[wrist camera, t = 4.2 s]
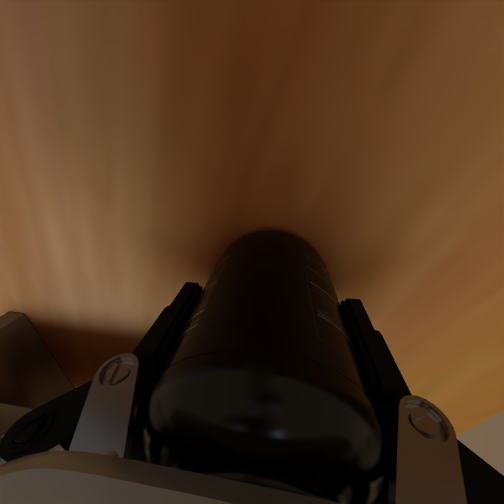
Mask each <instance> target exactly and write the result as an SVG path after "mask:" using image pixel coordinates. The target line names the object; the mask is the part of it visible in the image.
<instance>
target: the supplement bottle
mask: <svg viewBox="0 0 504 504" xmlns="http://www.w3.org/2000/svg"><path fill="white" fill-rule="evenodd" d="M142 439H143V446H144V451H145V454H146V457H147V460H148V462H149V463H151V464H156V465H160V466H165V467H170V468H175V469H180V470H185V471H190V472H195V473H200V474H205V475H209V476H214V477H219V478H224V479H229V480H233V481H238V482H243V483H248V484H253V485H257V486H262V487H267V488H272V489H276V490H281V491H286V492H291V493H295V494H300V495H305V496H309V497H314V498H319V499H323V500H328V501H333V502H337V503H342V504H372V503H373V502H374V501H375V499H376V498H377V496H378V494H379V492H380V490H381V487H382V485H383V482H384V478H385V472H386V465H387V445H386V437H385V434H384V431H383V427H382V424H381V421H380V418H379V414H378V411H377V408H376V405H375V402H374V400H373V397H372V394H371V391H370V388H369V386H368V383H367V380H366V377H365V374H364V371H363V369H362V366H361V363H360V360H359V357H358V355H357V352H356V349H355V346H354V343H353V340H352V338H351V335H350V332H349V329H348V326H347V324H346V321H345V318H344V315H343V312H342V310H341V307H340V304H339V301H338V298H337V295H336V293H335V290H334V287H333V284H332V281H331V279H330V276H329V273H328V271H327V268H326V266H325V264H324V261H323V260H322V258H321V256H320V255H319V253H318V252H317V251H316V250H315V249H314V248H313V247H312V246H311V245H310V244H308V243H307V242H306V241H304V240H302V239H301V238H299V237H297V236H294V235H292V234H289V233H285V232H280V231H260V232H255V233H251V234H248V235H246V236H243V237H241V238H239V239H238V240H236V241H235V242H233V243H232V244H231V245H230V246H229V247H228V248H227V249H226V250H225V251H224V253H223V254H222V256H221V257H220V259H219V261H218V263H217V264H216V266H215V268H214V270H213V272H212V274H211V276H210V278H209V279H208V281H207V283H206V285H205V287H204V289H203V291H202V293H201V295H200V297H199V299H198V300H197V302H196V304H195V306H194V308H193V310H192V312H191V314H190V316H189V318H188V320H187V322H186V323H185V325H184V327H183V329H182V331H181V333H180V335H179V337H178V339H177V341H176V343H175V344H174V346H173V348H172V350H171V352H170V354H169V356H168V358H167V360H166V362H165V364H164V365H163V367H162V369H161V371H160V373H159V375H158V377H157V379H156V381H155V383H154V385H153V388H152V390H151V392H150V394H149V396H148V399H147V401H146V404H145V408H144V413H143V421H142Z"/></svg>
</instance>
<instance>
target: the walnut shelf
mask: <svg viewBox="0 0 504 504" xmlns="http://www.w3.org/2000/svg"><path fill="white" fill-rule="evenodd" d="M73 389H74V387H73V386H72V384H71V383H70V381H69V380H68V378H67V377H66V375H65V374H64V372H63V371H62V369H61V368H60V366H59V365H58V363H57V362H56V360H55V359H54V357H53V356H52V355H51V353H50V352H49V350H48V349H47V347H46V346H45V344H44V343H43V341H42V340H41V338H40V337H39V335H38V334H37V332H36V331H35V329H34V328H33V326H32V325H31V323H30V322H29V320H28V319H27V317H26V316H25V314H23V313H16V312H7V313H6V314H4V315H3V316H1V317H0V436H3V435H5V433H6V432H7V430H8V429H9V428H10V427H11V426H12V425H13V424H14V423H15V422H16V421H17V420H18V419H20V418H21V417H22V416H23V415H25V414H26V413H28V412H30V411H31V410H33V409H35V408H37V407H39V406H41V405H43V404H45V403H47V402H49V401H51V400H53V399H55V398H57V397H59V396H61V395H63V394H65V393H67V392H69V391H71V390H73Z"/></svg>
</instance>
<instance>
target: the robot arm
mask: <svg viewBox="0 0 504 504" xmlns="http://www.w3.org/2000/svg"><path fill="white" fill-rule="evenodd" d="M201 293H202V286H199V284H198V283H192V282H186V283H185V285H184V286H183V288H182V289H181V290H180V292H179V293H178V295H177V296H176V298H175V299H174V300H173V302H172V303H171V305H170V306H167V307H166V308H165V309H164V310H163V311H162V313H161V314H160V315H159V317H158V318H157V320H156V321H155V322H154V324H153V325H152V327H151V328H150V329H149V331H148V332H147V333H146V335H145V336H144V338H143V339H142V340H141V342H140V343H139V345H138V346H137V347H136V349H135V350H134V352H133V353H132V354H130V353H124V354H119V355H116V356H114V357H112V358H110V359H109V360H107V361H106V362H105V363H103V364H102V365H101V367H100V368H99V369H98V370H97V372H96V374H95V376H94V378H93V380H91V381H89V382H87V383H85V384H83V385H81V386H79V387H77V388H75V389H73V390H71V391H69V392H67V393H65V394H63V395H61V396H59V397H57V398H55V399H53V400H51V401H49V402H47V403H45V404H43V405H41V406H39V407H37V408H35V409H33V410H31V411H30V412H28V413H26V414H25V415H23V416H22V417H21V418H20V419H18V420H17V421H16V422H15V423H14V424H13V425H12V426H11V427H10V428H9V429H8V430H7V432H6V433H5V435H3V436H0V504H342V503H337V502H333V501H328V500H323V499H319V498H314V497H309V496H305V495H300V494H295V493H291V492H286V491H281V490H276V489H272V488H267V487H262V486H257V485H253V484H248V483H243V482H238V481H233V480H229V479H224V478H219V477H214V476H209V475H205V474H200V473H195V472H190V471H185V470H180V469H175V468H170V467H165V466H160V465H156V464H151V463H149V462H148V460H147V457H146V454H145V451H144V446H143V439H142V421H143V413H144V408H145V404H146V401H147V399H148V396H149V394H150V392H151V390H152V388H153V385H154V383H155V381H156V379H157V377H158V375H159V373H160V371H161V369H162V367H163V365H164V364H165V362H166V360H167V358H168V356H169V354H170V352H171V350H172V348H173V346H174V344H175V343H176V341H177V339H178V337H179V335H180V333H181V331H182V329H183V327H184V325H185V323H186V322H187V320H188V318H189V316H190V314H191V312H192V310H193V308H194V306H195V304H196V302H197V300H198V299H199V297H200V295H201ZM340 307H341V310H342V312H343V315H344V318H345V321H346V324H347V326H348V329H349V332H350V335H351V338H352V340H353V343H354V346H355V349H356V352H357V355H358V357H359V360H360V363H361V366H362V369H363V371H364V374H365V377H366V380H367V383H368V386H369V388H370V391H371V394H372V397H373V400H374V402H375V405H376V408H377V411H378V414H379V418H380V421H381V424H382V427H383V431H384V434H385V437H386V445H387V465H386V472H385V478H384V482H383V485H382V487H381V490H380V492H379V494H378V496H377V498H376V499H375V501H374V502H373V503H372V504H504V476H503V475H502V474H500V473H499V472H498V471H497V470H495V469H494V468H493V467H492V466H490V465H489V464H488V463H486V462H485V461H484V460H483V459H481V458H480V457H479V456H478V455H476V454H475V453H474V452H472V451H471V450H470V449H469V448H467V447H466V446H465V445H464V444H462V443H461V442H460V441H458V440H457V438H456V434H455V431H454V428H453V426H452V424H451V423H450V421H449V419H448V418H447V417H446V416H445V415H444V413H443V412H442V411H441V410H440V409H439V408H437V407H436V406H435V405H434V404H432V403H431V402H429V401H428V400H426V399H424V398H421V397H419V396H415V395H411V393H410V391H409V389H408V387H407V385H406V383H405V381H404V379H403V377H402V375H401V373H400V371H399V369H398V367H397V365H396V363H395V361H394V359H393V357H392V355H391V353H390V350H389V348H388V346H387V344H386V342H385V340H384V338H383V336H382V335H381V333H380V332H379V331H377V330H374V328H373V326H372V323H371V321H370V319H369V317H368V315H367V313H366V311H365V309H364V307H363V304H362V302H361V301H360V300H359V299H350V298H346V300H345V301H342V302H341V304H340Z"/></svg>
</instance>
